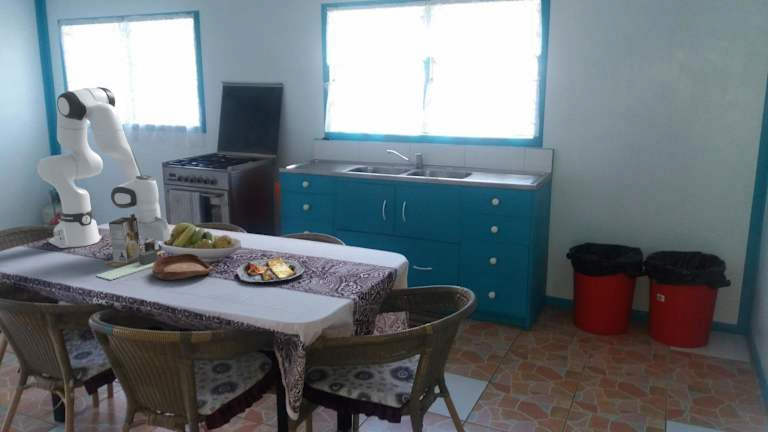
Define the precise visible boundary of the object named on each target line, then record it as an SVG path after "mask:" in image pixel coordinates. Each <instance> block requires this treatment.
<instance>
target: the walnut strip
mask: <svg viewBox="0 0 768 432" xmlns="http://www.w3.org/2000/svg"><path fill="white" fill-rule="evenodd" d="M149 241H150V240H149ZM154 243H155V242H154V240H151V241H150V242H147V243H145V242H144V244H143V245H144V250H141V253H144V252H148V251H151V250H153V251H157V256H160V255H163V254H166V253H167V251H165V250H163V246H162V247H161V246H160V245H159V249H157V250H155V249H153V245H154ZM136 262H140V261H139V257H138V258H136V259H134V260H133V261H131V262H129V263H119V262H114V259H111V260H108V261H105V262H103V264H105V265H108V266H112V267H115V266H116V268H120V267H121V266H122V267H124V266H127V265H130V264H133V263H136Z"/></svg>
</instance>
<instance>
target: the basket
mask: <svg viewBox="0 0 768 432" xmlns="http://www.w3.org/2000/svg"><path fill="white" fill-rule="evenodd" d="M212 269H213V266H212V265H209V264H208V263H206V262H205V261H204V260H203V259H202V258H200V256H199V255H197V254H194V253H189V252H188V253H180V254H176V255H175V254H174V255H171V254H169V255H166V256H164V257H160V258H159V259H158V260H156V261H155V262H154V264H153V267H152V275H153V276H155V277H156V278H158V279H161V280H163V281H164V280H166V281H174V280H180V279H181V280H182V279H184V278H191V277H194V276H205V275H207V274H210V272H211V271H212Z"/></svg>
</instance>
